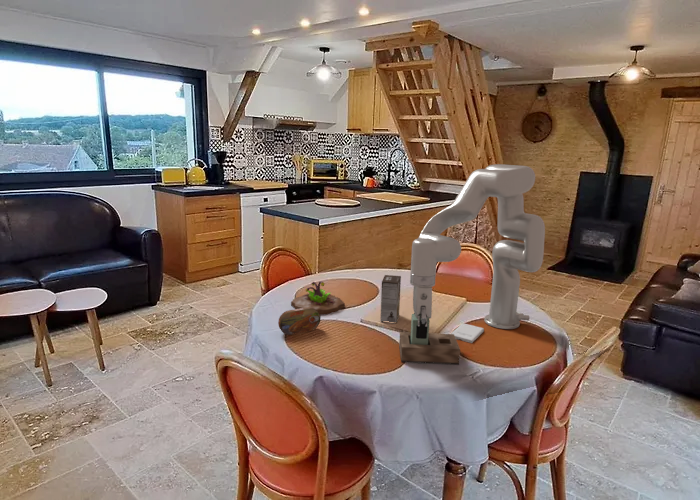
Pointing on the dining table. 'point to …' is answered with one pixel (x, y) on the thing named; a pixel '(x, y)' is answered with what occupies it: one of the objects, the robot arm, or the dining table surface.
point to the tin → (299, 321)
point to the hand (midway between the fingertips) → (419, 331)
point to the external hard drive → (467, 332)
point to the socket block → (430, 349)
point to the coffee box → (390, 298)
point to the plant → (318, 300)
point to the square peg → (413, 332)
